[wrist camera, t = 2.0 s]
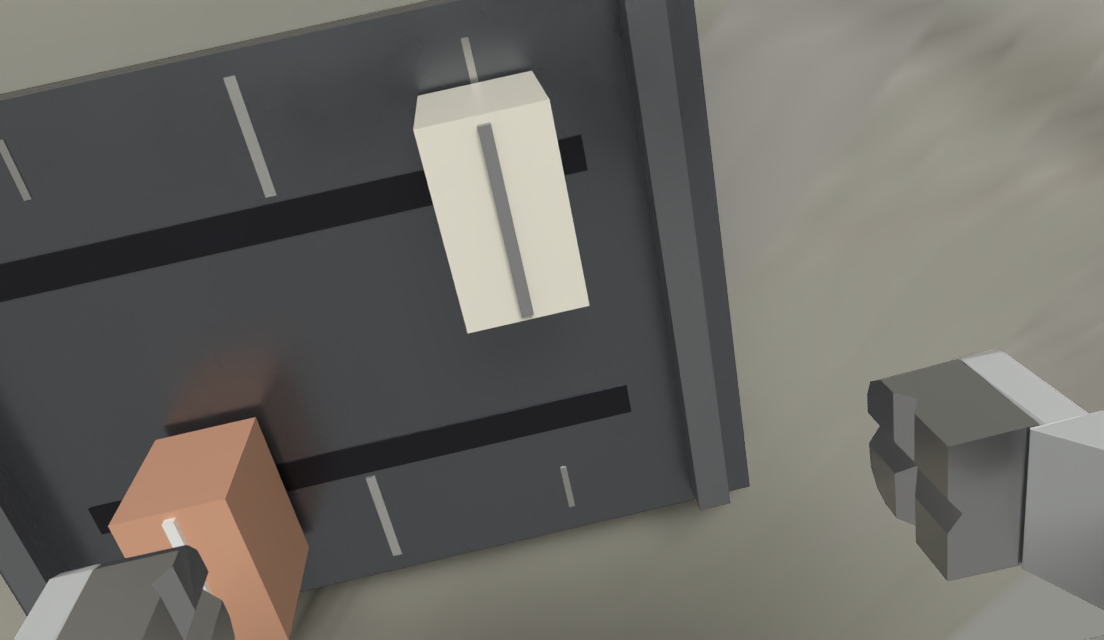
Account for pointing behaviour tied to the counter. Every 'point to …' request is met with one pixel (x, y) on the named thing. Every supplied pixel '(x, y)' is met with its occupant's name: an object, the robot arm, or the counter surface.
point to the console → (360, 289)
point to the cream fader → (501, 200)
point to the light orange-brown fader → (222, 522)
